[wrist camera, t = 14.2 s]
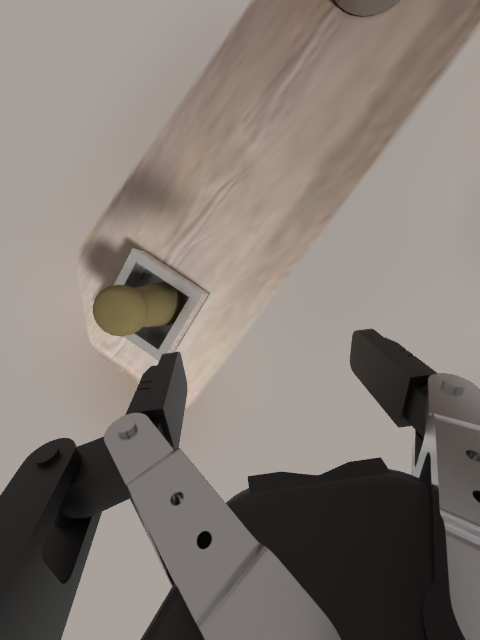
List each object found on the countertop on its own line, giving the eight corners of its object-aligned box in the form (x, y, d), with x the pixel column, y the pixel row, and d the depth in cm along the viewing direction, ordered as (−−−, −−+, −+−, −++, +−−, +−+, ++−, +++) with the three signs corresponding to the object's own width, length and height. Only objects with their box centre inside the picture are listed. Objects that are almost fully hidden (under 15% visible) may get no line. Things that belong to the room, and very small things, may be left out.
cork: (191, 298, 34) (151, 304, 23) (168, 334, 35) (120, 355, 24) (155, 273, 34) (99, 267, 24) (134, 309, 35) (71, 319, 25)
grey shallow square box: (146, 251, 35) (132, 248, 31) (209, 293, 34) (202, 294, 31) (113, 315, 37) (96, 318, 33) (172, 355, 36) (161, 362, 33)
